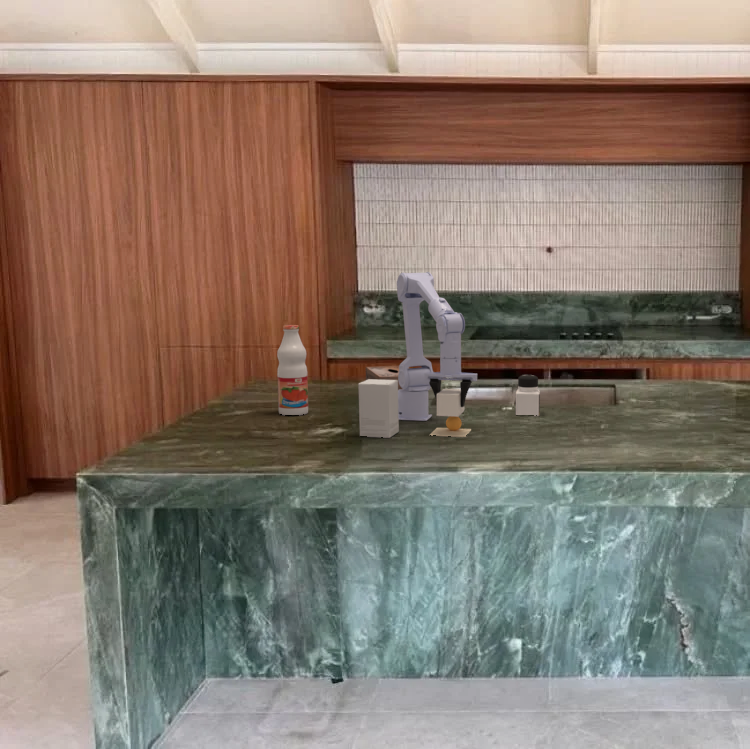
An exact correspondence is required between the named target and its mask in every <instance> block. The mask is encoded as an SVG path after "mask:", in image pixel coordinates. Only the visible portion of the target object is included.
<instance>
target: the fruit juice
mask: <svg viewBox="0 0 750 749" xmlns="http://www.w3.org/2000/svg"><path fill="white" fill-rule="evenodd" d="M282 329H283V330H282V331H283V337H282V340H281V343H280V346H279V348H278V349H277V354H276V355H277V360H278V366H277V399H278V403H277V404H278V413H279V415H280V414H282V415H281V416H285V415H299V416H303V414H304V415H307V414H308V413H309V388H308V367H307V365H306V359H307V350H306V348H305V346H304V344H303V342H302V339H301V336H300V334H299V330H300V327H299V325H298V324H284V325H283V327H282Z"/></svg>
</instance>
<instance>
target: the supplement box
mask: <svg viewBox="0 0 750 749" xmlns="http://www.w3.org/2000/svg"><path fill="white" fill-rule="evenodd" d="M357 385H358V410H359V411H358V414H359V415H358V416H359V421H358V422H359V437H360V436H367V437H366V438H381V437H383V438H384V439H390V438H391V437H393V436H394V435H396V434H397V433H399V432H400V426H399V421H400V420H399V417H398V380H377V379H368V380H366V379H365V380H364V381H361V382H359V383H357ZM383 438H382V439H383Z"/></svg>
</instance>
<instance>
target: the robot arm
mask: <svg viewBox="0 0 750 749" xmlns="http://www.w3.org/2000/svg"><path fill="white" fill-rule="evenodd" d="M396 291H397V300H398V301H399V302H401V304H402V314H403V324H404V337H405V346H406V347H405V348H406V349H405V350H406V358H405V359H404V360H402V362H401V363H400V364H399V365H398V366H399V374H398V381H399V385H400V386H401V388H402V389H399V390H398V417H399V421H401V420H402V421H420V422H421V421H423V422H425V421H426V422H427V421H428V420H430V418H431V417H432V416H433V414H429V390H431V389H432V390H431V391H432V392H433V395H434V398H435V402H436V403H437V394H438V393H439V392H440V391H441V390H442V381H459V382H460V383H459V385H460V389H461V407H464V405H465V404H466V398H467V395H468V392H469V389H470V388H471V385H472V383H473V382H477V381H478V373H473V372H462V335H463V333H465V332H464V331H465V329H466V321H465V318H464V315H463V314H462V313H461V312H455V311H454V309H453V308H452V307H451V305H450V304H449V303H448V301H447V300H446V299H445V297H440V296H439V294H438V293H437V290H436V288H435V278H434V276H433V274H432V273H431V272H429V271H426V272H400V273H399V275H398V277H397V280H396ZM423 301H425V302H426V303H427V304H428V306H427V307H428V309H427V310H428V312H429V314H430V315H431V316H432V318H433V320H434V321H435V323H436V324H435V326H436V331H437V338H438V341H439V346H440V348H439V353H440V355H439V357H440V358H439V359H440V360H439V364H440V366H439V370H440V371H436V372H435V371H434V370H433V366H432V362H431V361H430V360H429V359H427V358H426V357H425V356H424V347H423V337H422V336H423V335H422V325H421V323H422V322H421V313H420V304H421V303H422V302H423Z"/></svg>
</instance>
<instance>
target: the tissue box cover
mask: <svg viewBox="0 0 750 749" xmlns="http://www.w3.org/2000/svg"><path fill="white" fill-rule="evenodd" d="M398 374H399V365H384V366H383V365H381V366H379V365H377V366H365V381H366V380H368V379H377V380H398ZM399 389H402V388H401V386H400V385H399V381H398V390H399Z"/></svg>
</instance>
